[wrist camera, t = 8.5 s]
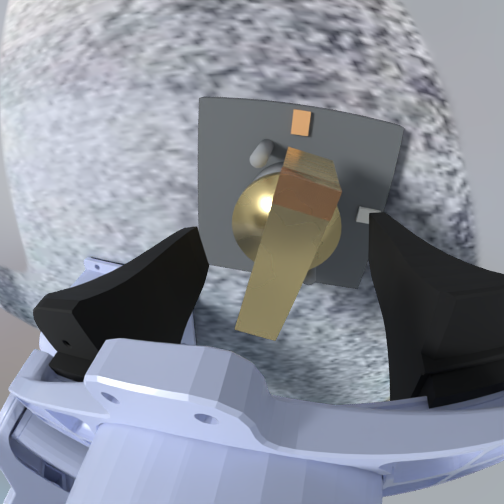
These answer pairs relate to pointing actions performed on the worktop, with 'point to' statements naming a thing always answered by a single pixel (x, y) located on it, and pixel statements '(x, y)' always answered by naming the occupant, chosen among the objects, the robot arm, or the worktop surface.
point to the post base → (327, 141)
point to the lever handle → (285, 236)
